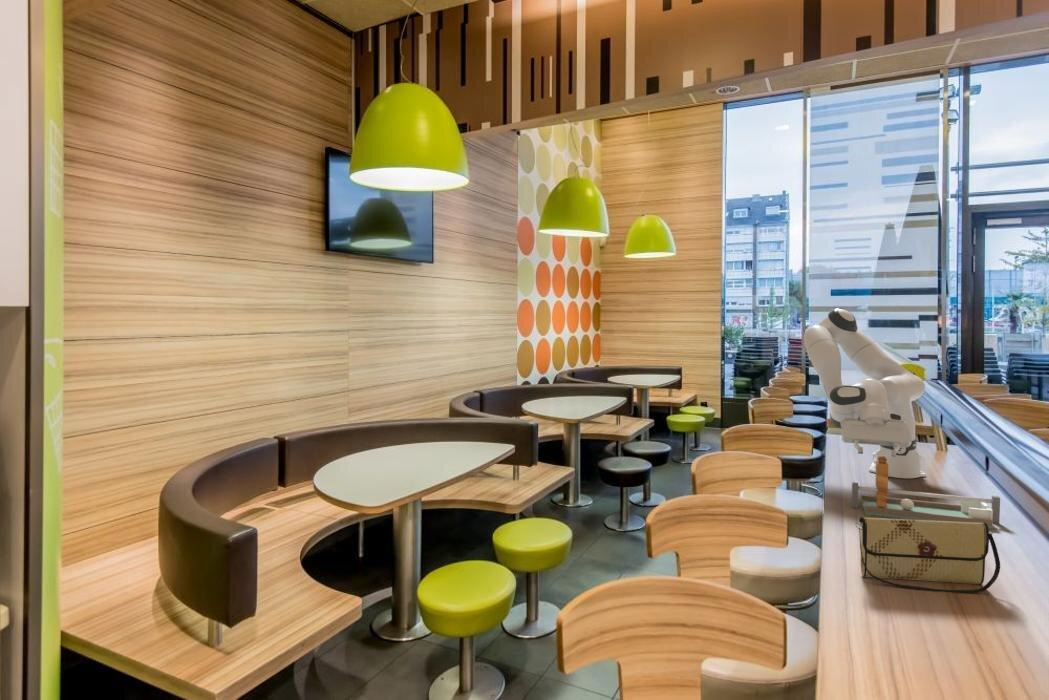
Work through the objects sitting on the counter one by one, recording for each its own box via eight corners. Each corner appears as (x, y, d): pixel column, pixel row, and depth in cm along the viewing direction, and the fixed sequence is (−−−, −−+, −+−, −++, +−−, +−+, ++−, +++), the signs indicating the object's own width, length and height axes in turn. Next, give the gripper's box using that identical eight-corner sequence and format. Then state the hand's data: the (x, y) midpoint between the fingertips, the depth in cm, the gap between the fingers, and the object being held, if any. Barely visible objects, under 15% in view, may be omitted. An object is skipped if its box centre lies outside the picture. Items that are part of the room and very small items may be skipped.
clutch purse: (863, 587, 135) (864, 525, 134) (852, 573, 142) (853, 514, 141) (1007, 596, 130) (1009, 531, 129) (988, 582, 136) (990, 520, 135)
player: (875, 502, 188) (876, 454, 187) (885, 503, 187) (886, 454, 186) (876, 506, 184) (877, 456, 183) (887, 507, 183) (888, 457, 182)
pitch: (850, 500, 195) (850, 477, 194) (991, 516, 179) (992, 490, 178) (853, 513, 183) (854, 488, 183) (1005, 530, 167) (1006, 503, 166)
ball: (899, 507, 185) (899, 496, 185) (912, 508, 183) (912, 497, 183) (901, 511, 182) (901, 499, 181) (914, 512, 180) (915, 501, 180)
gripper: (840, 412, 202) (841, 446, 193) (910, 416, 193) (914, 452, 184) (839, 423, 206) (840, 456, 198) (907, 427, 197) (911, 462, 189)
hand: (876, 454), depth 191 cm, fingers open, 8 cm apart
